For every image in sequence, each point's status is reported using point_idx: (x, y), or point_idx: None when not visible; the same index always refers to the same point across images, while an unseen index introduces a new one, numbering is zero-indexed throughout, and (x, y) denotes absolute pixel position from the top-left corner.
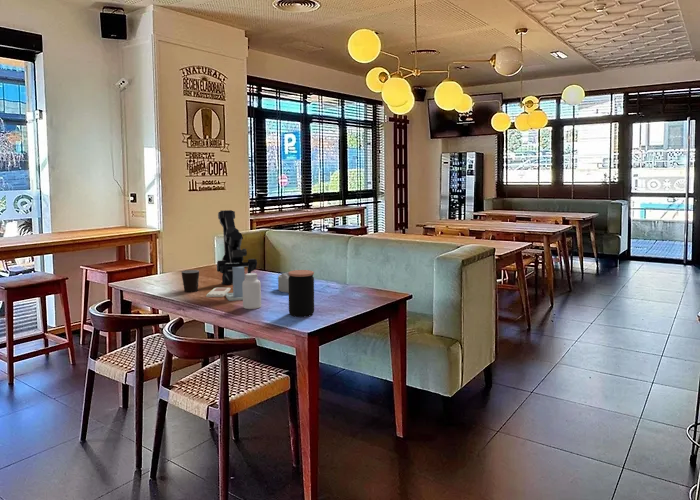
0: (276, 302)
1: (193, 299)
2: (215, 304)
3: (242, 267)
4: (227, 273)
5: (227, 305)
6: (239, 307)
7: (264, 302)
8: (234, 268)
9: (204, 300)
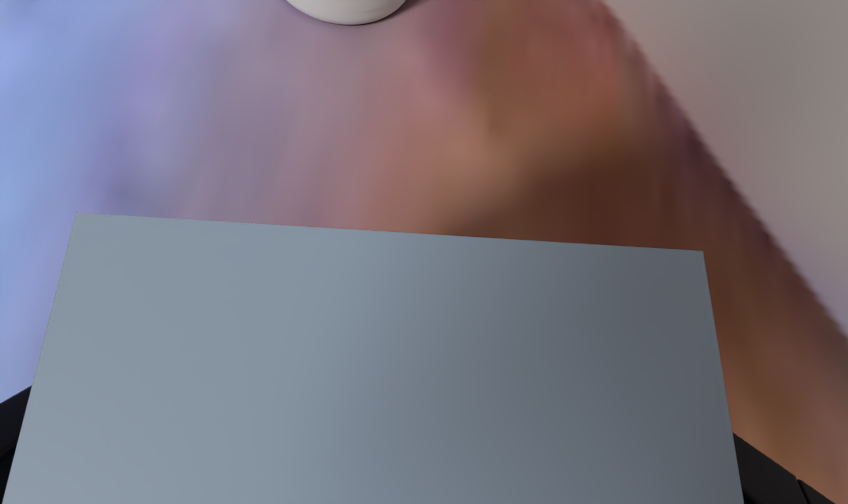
0: (65, 25)
1: (835, 466)
2: (624, 176)
3: (137, 440)
4: (753, 466)
5: (529, 103)
6: (443, 5)
7: (180, 71)
8: (665, 251)
9: (727, 376)
